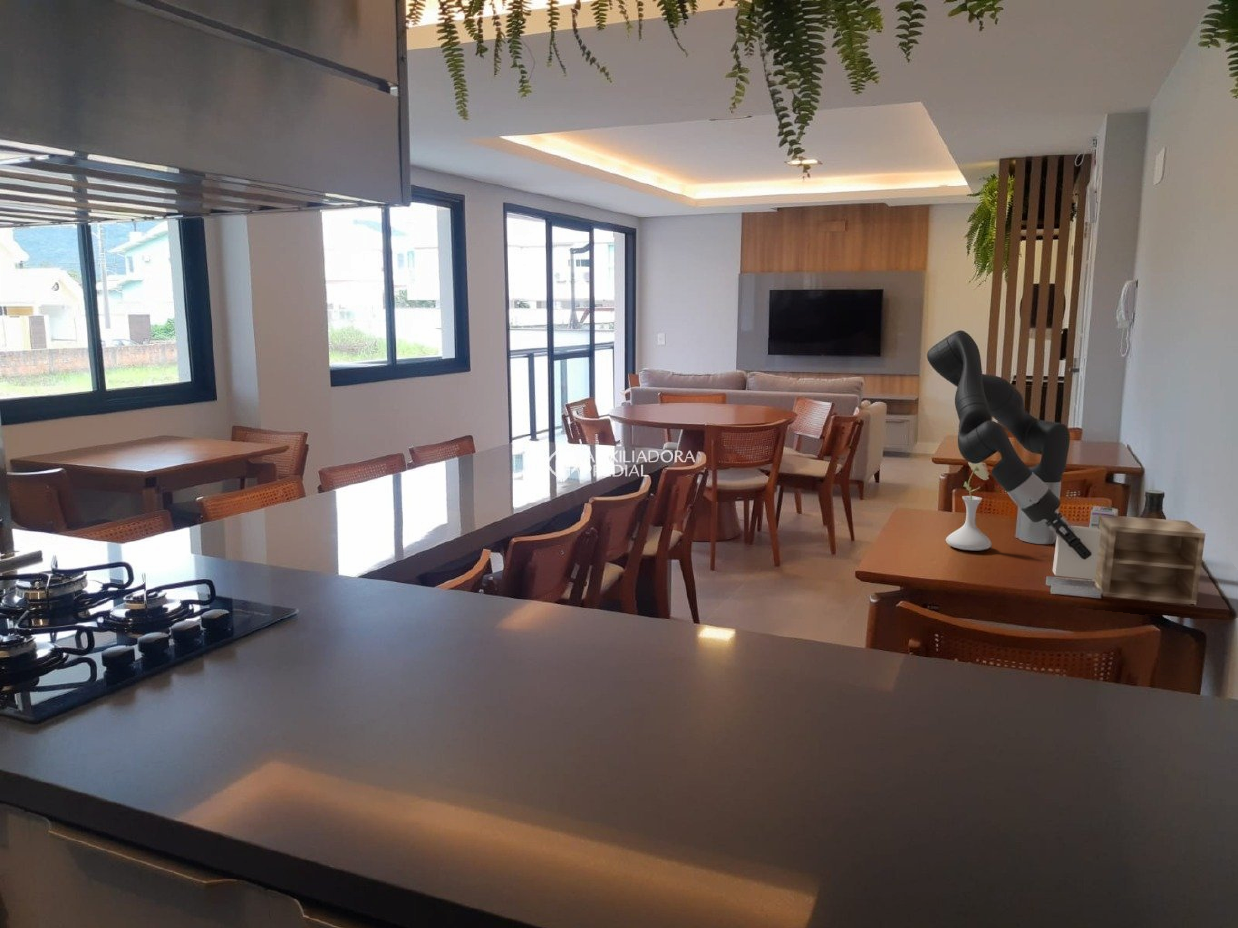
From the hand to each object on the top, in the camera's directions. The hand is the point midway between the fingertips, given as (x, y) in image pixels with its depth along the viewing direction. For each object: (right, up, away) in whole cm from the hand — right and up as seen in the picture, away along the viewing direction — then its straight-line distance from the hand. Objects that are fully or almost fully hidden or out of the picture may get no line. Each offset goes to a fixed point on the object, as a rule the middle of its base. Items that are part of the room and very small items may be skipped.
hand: (1085, 554), depth 197 cm
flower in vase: (-11, -2, +38) cm, 40 cm away
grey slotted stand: (-2, -9, +2) cm, 9 cm away
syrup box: (+16, -5, +24) cm, 29 cm away
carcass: (+14, -9, +2) cm, 16 cm away
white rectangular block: (-2, -5, +1) cm, 5 cm away
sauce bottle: (+26, -6, +20) cm, 33 cm away
